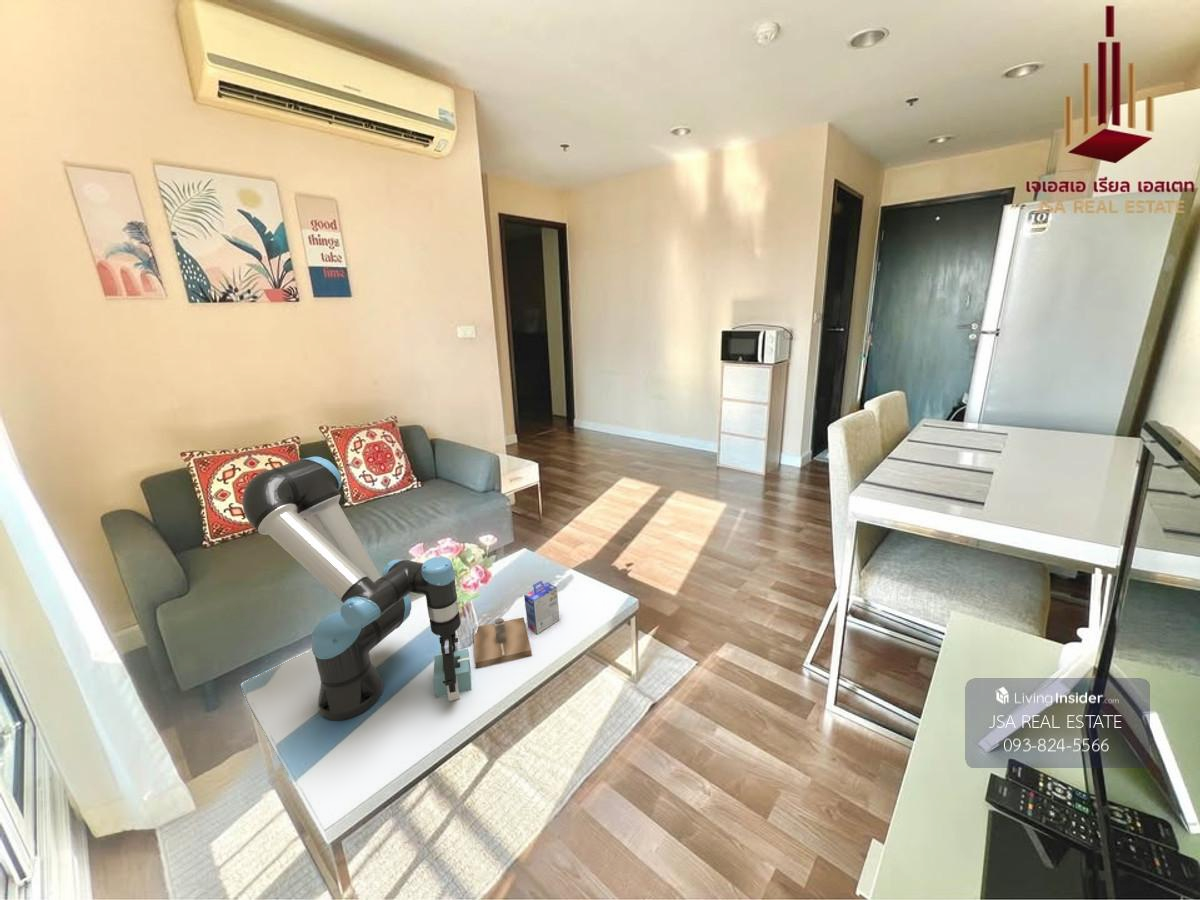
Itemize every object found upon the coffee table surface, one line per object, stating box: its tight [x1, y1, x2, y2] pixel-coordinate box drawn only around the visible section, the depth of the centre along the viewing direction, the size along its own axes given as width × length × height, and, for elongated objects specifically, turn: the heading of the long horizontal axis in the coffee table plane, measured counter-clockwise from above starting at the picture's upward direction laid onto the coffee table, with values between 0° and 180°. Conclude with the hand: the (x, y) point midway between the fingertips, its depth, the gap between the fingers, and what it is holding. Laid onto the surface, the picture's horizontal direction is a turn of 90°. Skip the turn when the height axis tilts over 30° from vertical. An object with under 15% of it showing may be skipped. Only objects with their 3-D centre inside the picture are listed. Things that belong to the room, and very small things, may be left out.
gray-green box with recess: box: [432, 648, 472, 699], centre depth 127 cm, size 9×9×6 cm
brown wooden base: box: [473, 616, 533, 669], centre depth 140 cm, size 16×16×8 cm
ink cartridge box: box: [523, 580, 560, 635], centre depth 148 cm, size 10×6×14 cm, turn 137°
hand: (454, 680), depth 127 cm, fingers open, 12 cm apart
